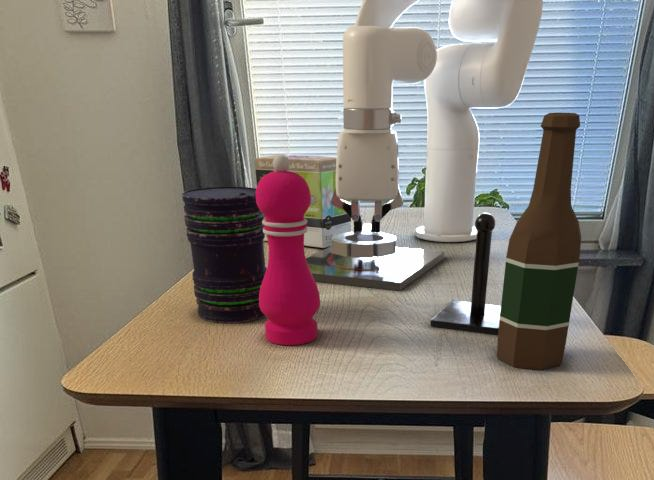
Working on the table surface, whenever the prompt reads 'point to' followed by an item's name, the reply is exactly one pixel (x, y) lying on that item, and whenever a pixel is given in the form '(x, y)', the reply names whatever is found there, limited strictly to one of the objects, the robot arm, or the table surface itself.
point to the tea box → (314, 195)
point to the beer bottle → (543, 257)
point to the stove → (373, 268)
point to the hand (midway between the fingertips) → (366, 244)
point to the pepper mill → (286, 258)
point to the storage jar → (226, 252)
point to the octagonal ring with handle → (363, 244)
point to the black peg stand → (474, 290)
